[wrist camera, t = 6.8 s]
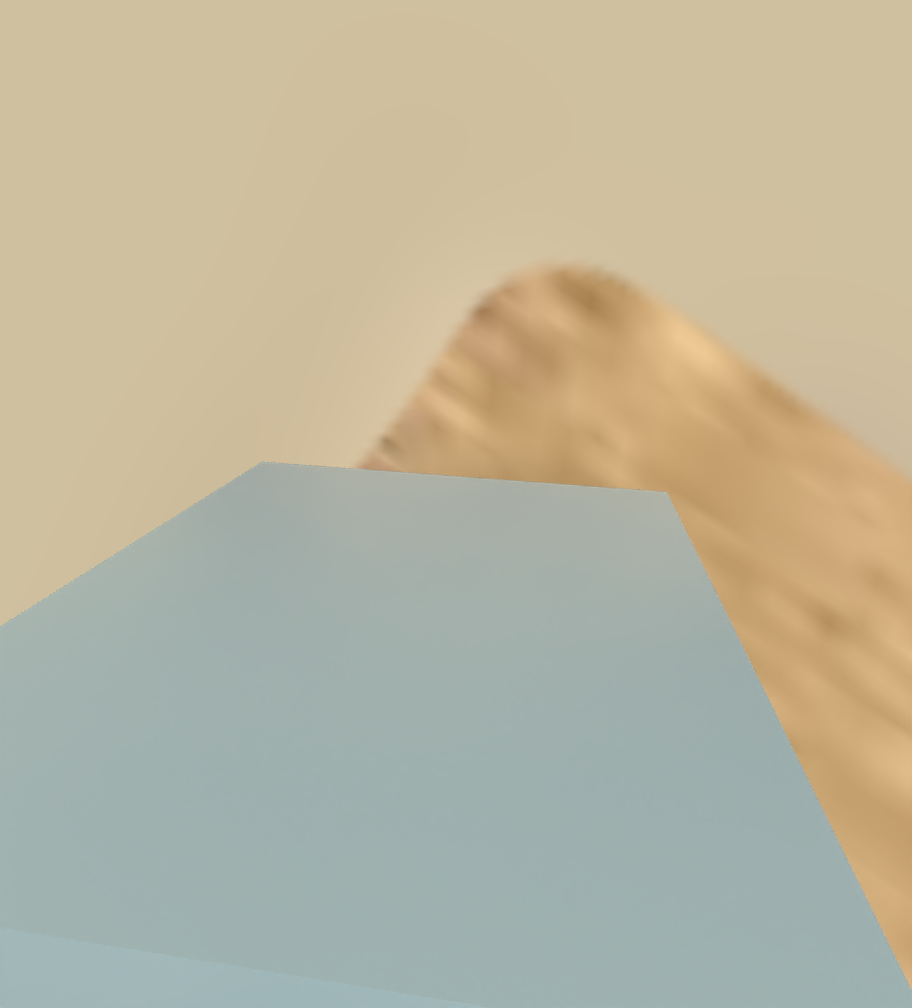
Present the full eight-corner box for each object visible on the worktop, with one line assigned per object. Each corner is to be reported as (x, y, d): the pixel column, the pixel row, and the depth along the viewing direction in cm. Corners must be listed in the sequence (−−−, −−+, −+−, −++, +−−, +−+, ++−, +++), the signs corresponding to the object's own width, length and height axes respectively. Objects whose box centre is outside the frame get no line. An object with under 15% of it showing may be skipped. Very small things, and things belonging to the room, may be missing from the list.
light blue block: (667, 492, 11) (956, 1084, 3) (603, 957, 14) (663, 1887, 6) (261, 462, 12) (-382, 865, 4) (283, 909, 15) (-51, 1675, 7)
